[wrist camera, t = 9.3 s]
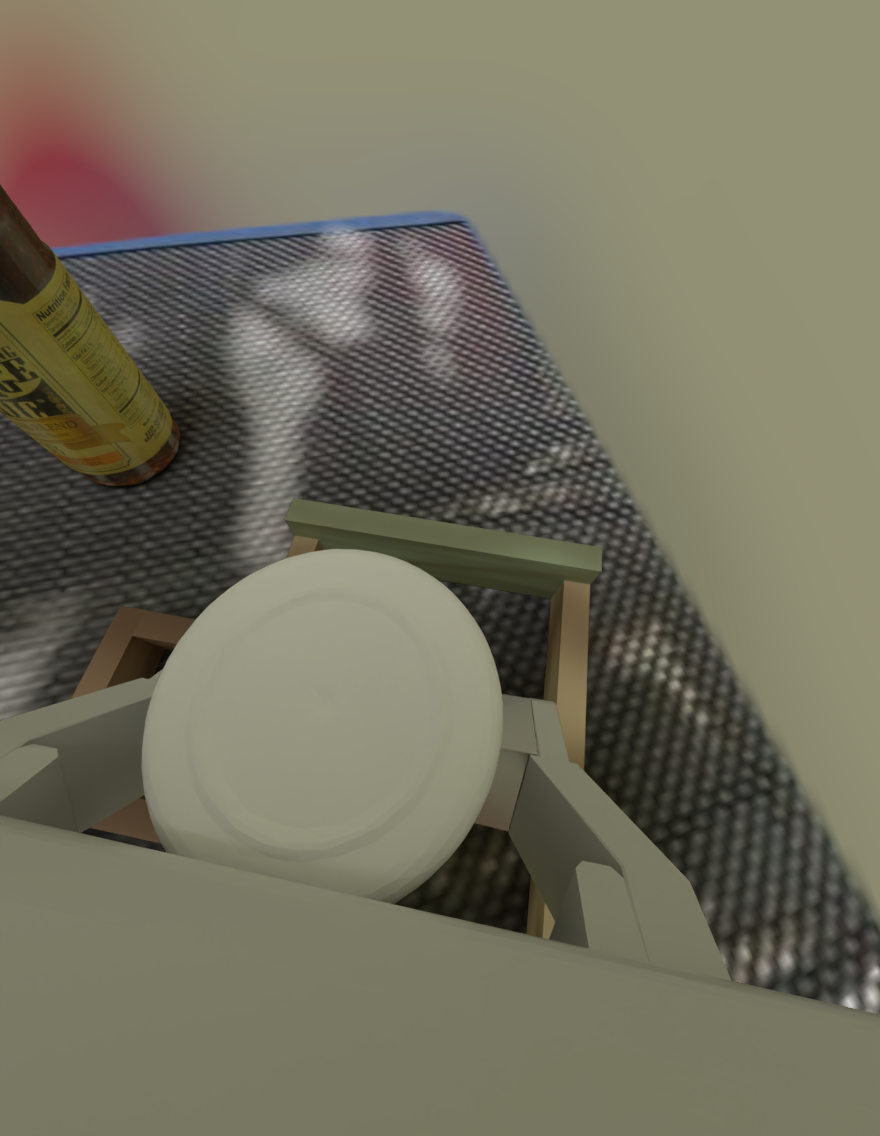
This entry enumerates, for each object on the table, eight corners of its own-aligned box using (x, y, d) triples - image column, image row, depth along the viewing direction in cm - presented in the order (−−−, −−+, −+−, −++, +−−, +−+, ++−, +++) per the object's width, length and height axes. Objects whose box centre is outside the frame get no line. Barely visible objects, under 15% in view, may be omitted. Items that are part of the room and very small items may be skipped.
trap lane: (545, 1177, 13) (586, 1332, 10) (-41, 1024, 15) (-195, 1109, 11) (575, 582, 22) (601, 547, 19) (203, 520, 24) (161, 477, 20)
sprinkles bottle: (472, 786, 17) (570, 859, 4) (359, 823, 16) (110, 1023, 4) (441, 674, 18) (448, 505, 6) (339, 703, 18) (127, 581, 6)
